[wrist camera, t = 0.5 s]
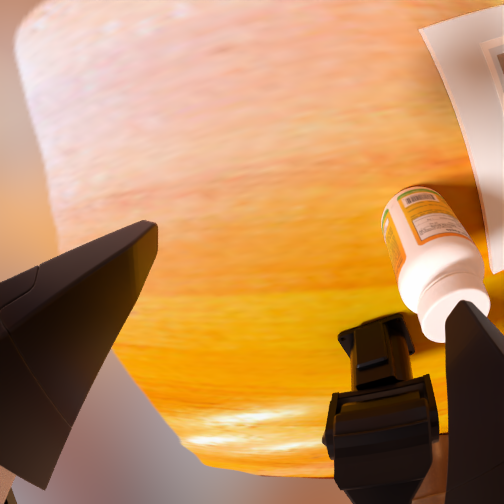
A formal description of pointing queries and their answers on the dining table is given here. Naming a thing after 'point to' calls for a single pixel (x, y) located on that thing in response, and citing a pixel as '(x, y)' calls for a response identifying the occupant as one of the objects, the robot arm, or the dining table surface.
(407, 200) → the supplement bottle
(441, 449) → the plant pot
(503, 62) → the grey plinth
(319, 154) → the dining table surface
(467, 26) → the white flat board
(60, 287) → the robot arm
